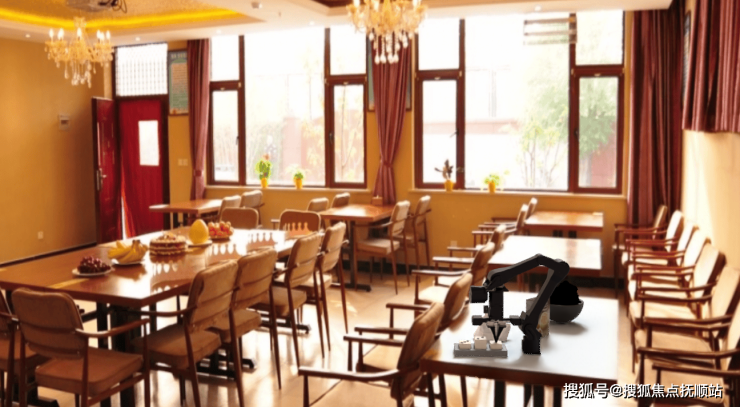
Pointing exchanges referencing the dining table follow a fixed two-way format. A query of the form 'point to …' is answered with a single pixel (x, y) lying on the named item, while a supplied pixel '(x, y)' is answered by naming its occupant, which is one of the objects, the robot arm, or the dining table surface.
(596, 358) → the dining table surface
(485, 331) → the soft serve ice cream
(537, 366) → the dining table surface
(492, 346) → the key one dot
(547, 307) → the coffee box
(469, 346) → the key three dots
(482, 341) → the key two dots
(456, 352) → the key board
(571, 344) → the dining table surface
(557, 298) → the coal bowl
